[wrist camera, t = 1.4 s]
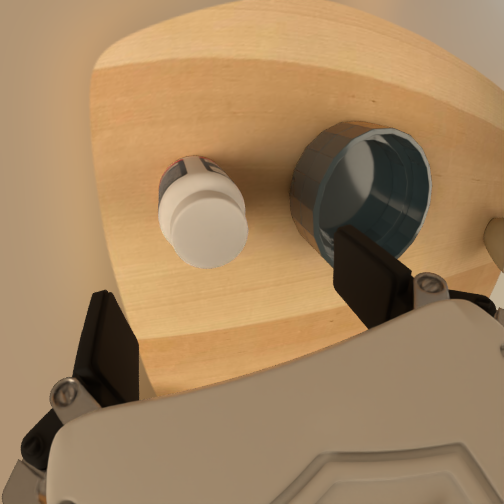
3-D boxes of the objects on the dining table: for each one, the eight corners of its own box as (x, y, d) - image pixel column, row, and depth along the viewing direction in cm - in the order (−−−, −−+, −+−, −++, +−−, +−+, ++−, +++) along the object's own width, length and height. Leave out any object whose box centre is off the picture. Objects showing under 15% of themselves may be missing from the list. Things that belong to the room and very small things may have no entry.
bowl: (279, 127, 21) (307, 134, 17) (398, 119, 23) (435, 127, 19) (292, 263, 28) (314, 293, 24) (393, 232, 30) (422, 253, 26)
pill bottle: (163, 223, 22) (166, 287, 15) (155, 160, 20) (148, 194, 12) (227, 213, 24) (260, 271, 16) (224, 151, 21) (259, 179, 14)
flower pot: (497, 195, 35) (528, 212, 29) (503, 225, 40) (528, 241, 34) (472, 238, 37) (502, 259, 31) (479, 263, 42) (504, 282, 36)
